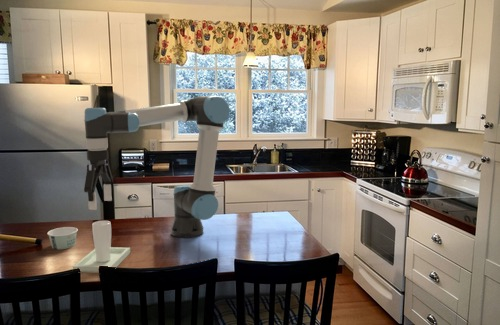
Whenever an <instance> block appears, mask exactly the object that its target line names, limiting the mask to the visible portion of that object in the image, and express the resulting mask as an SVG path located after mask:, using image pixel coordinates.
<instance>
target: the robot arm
mask: <svg viewBox="0 0 500 325" xmlns="http://www.w3.org/2000/svg"><path fill="white" fill-rule="evenodd" d="M230 113H231V112H230V106H229V103H228V102H227V101H226V99H225V98H223V97H221V96H219V95H214V94H213V95H199V96H195V97H191V98H188V99H183V100H179V101H178V102H177V103H169V104H163V105H156V106H147V107H141V108H135V109H133V108H132V109H124V110H119V111H109V112H107V109H106V108H105V107H87V108H85V109H84V120H83V121H84V127H85V128H84V129H85V130H84V131H85V144H86V145H85V147H86V149H87V151H86V159H87V161H90V162H91V164H87V165H86V176H85V182H84V188H83V191H84V193H87V202H88V203H87V204H88V210H91V211H97V209H98V208H97V206H98V204H97V192H96V187H97V183H98V179H99V177H100V178H101V179H102V180H103V200H104V202H105V201H107V202H112V201H113V198H112V185H114V178H113V177H114V176H113V174H112V171H111V167H110V166H111V165H110V161H109V149H108V148H109V143H108V142H109V140H108V139H109V138H108V134H114V133H116V134H117V133H133V132H137V131H138V130H139V128H140V127H145V126H151V125H152V126H153V125H157V124H159V125H160V124H164V123H171V122H176V121H177V122H178V121H181V122H184V123H185V122H196V126H197V128H198V129H199V131H198V140H197V147H196V148H197V149H196V157H195V166H194V174H193V182H192V184H182V185H181V184H180V185H177V186H175V187H174V189H173V208H174V211H173V212H174V217H173V222H172V225H171V231H170V232H171V233H170V234H171V236H174V237H176V238H184V239H186V238H194V237H198V236H201V235H203V234H204V226H203V222H202V221H206V220H210V219H211V218H212V217H214V216H215V214H216V213H217V212H218V210H219V200H218V199H217V197H216V188H215V187H214V185H213V184H214V176H215V168H216V167H215V166H216V159H217V152H218V144H219V136H220V135H219V134H220V132H221V131H222V130H223V129H224V124H225V122H227V120H228V118H229V116H230Z"/></svg>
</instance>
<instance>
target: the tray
mask: <svg viewBox="0 0 500 325" xmlns="http://www.w3.org/2000/svg"><path fill="white" fill-rule="evenodd" d="M130 254H131V247H120V246H119V247H118V246H116V247H115V246H114V247H113V246H111V259H110V260H109V261H107V262H97V261H96V253H95V248H94V249H92V250H91V251H90V252H89V253H88V254H86V255H85V256H84V257H83V258H82V259H80V260H79V261H78V262H76V263H75V264H74V265H73V266H72V270H73V269H77V268H79V269H80V271H81V272H80V273H91V274H92V273H94V274H96V273H99V272H98V268H99V266H108V267H116V268H117V267H119V265H120V264H121V263H122V262H123V261H124V260H125V259H126V258H127V257H128V256H129V255H130ZM99 274H100V273H99Z"/></svg>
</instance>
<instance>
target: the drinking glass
mask: <svg viewBox="0 0 500 325" xmlns="http://www.w3.org/2000/svg"><path fill="white" fill-rule="evenodd" d="M91 225H92V226H91V228H92V230H91V231H92V238H93V246H94V249H95V253H96V261H97V262H107V261H109V260H110V259H111V247H112V224H111V221H109V220H97V221H94V222H92V224H91Z"/></svg>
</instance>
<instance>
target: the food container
mask: <svg viewBox="0 0 500 325" xmlns="http://www.w3.org/2000/svg"><path fill="white" fill-rule="evenodd" d="M78 231H79V229H78V228H77V227H73V226H63V227H57V228H54V229H53V228H52V229H51V230H49V231H48V232H47V236H48V237H49V238H48V239H49V241H50V244H51V249H54V250H64V249H65V250H67V249H70V248H73V247H75V245H76V242H77V233H78Z"/></svg>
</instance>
